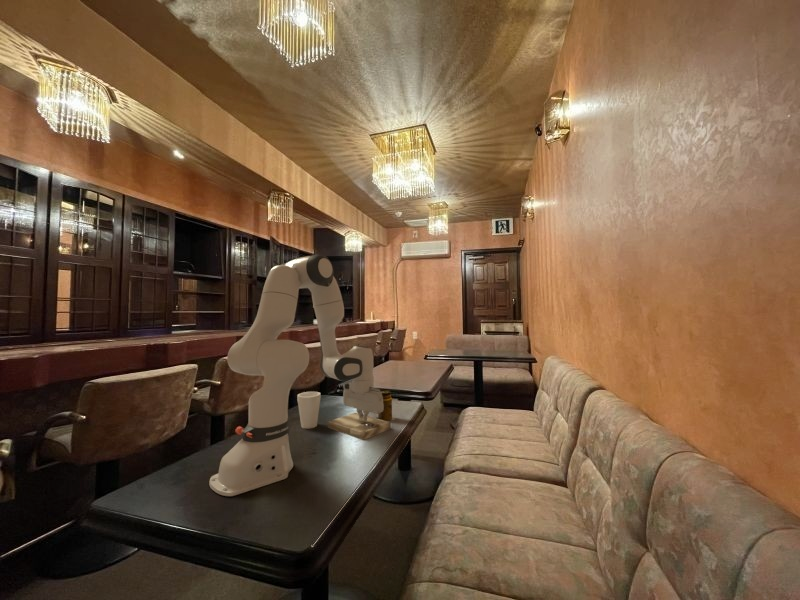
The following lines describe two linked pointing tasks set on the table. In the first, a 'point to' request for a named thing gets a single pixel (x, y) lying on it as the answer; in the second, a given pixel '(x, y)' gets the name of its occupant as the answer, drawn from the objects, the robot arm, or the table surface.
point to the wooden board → (359, 426)
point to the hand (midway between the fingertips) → (363, 420)
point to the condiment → (386, 407)
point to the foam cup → (309, 408)
